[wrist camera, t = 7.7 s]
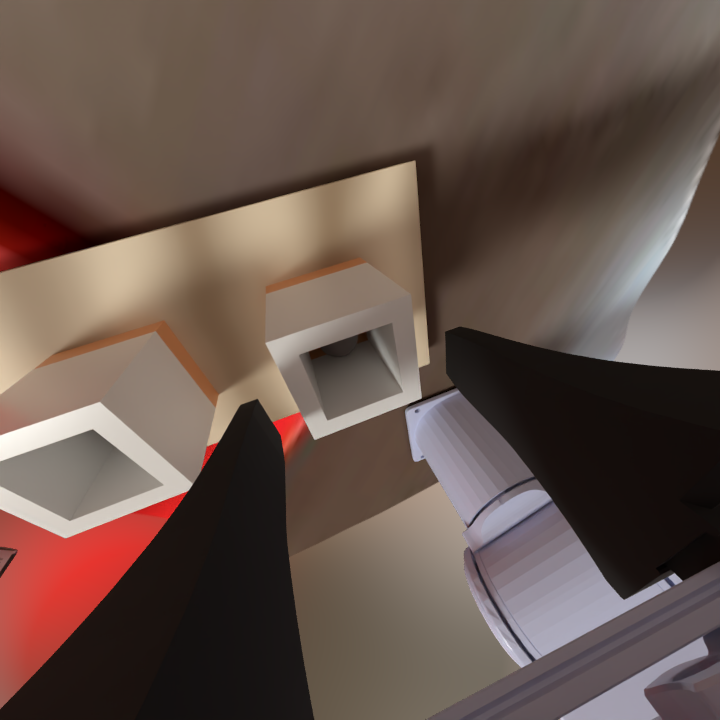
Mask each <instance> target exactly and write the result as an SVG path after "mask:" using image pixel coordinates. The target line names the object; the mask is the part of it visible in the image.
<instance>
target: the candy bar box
mask: <svg viewBox="0 0 720 720" xmlns="http://www.w3.org/2000/svg"><path fill="white" fill-rule="evenodd" d="M16 553H17V550H16V549H11V548H6V547H0V577H1V576H2V574H3V573H4V571H5V570H6V569H7V567H8V566H9V564H10V563H11V561H12V560H13V558H14V557H15V555H16Z"/></svg>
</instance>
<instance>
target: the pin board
mask: <svg viewBox="0 0 720 720" xmlns="http://www.w3.org/2000/svg"><path fill="white" fill-rule="evenodd" d="M359 257H360V258H362V259H363V260H364V261H366V262H367V263H369V264H370V265H371V266H373V267H374V268H375V269H377V270H378V271H380V272H381V273H382V274H384V275H385V276H387V277H388V278H389V279H391V280H392V281H393V282H395V283H396V284H398V285H399V286H400V287H402V288H403V289H405V290H406V291H407V292H409V293H410V294H411V299H412V309H413V319H414V328H415V338H416V348H417V358H418V368H419V367H422V366H424V365H427V364H429V349H428V335H427V320H426V306H425V291H424V277H423V262H422V248H421V234H420V219H419V205H418V190H417V176H416V161H411V162H406V163H401V164H397V165H394V166H390V167H386V168H382V169H379V170H375V171H371V172H368V173H364V174H360V175H357V176H353V177H349V178H345V179H342V180H338V181H334V182H331V183H327V184H323V185H319V186H316V187H312V188H308V189H305V190H301V191H297V192H294V193H290V194H286V195H282V196H279V197H275V198H271V199H268V200H264V201H260V202H257V203H253V204H249V205H245V206H242V207H238V208H234V209H231V210H227V211H223V212H219V213H216V214H212V215H208V216H205V217H201V218H197V219H194V220H190V221H186V222H182V223H179V224H175V225H171V226H168V227H164V228H160V229H157V230H153V231H149V232H145V233H142V234H138V235H134V236H131V237H127V238H123V239H119V240H116V241H112V242H108V243H105V244H101V245H97V246H94V247H90V248H86V249H82V250H79V251H75V252H71V253H68V254H64V255H60V256H57V257H53V258H49V259H45V260H42V261H38V262H34V263H31V264H27V265H23V266H19V267H16V268H12V269H8V270H5V271H1V272H0V395H1V394H2V393H3V392H5V391H6V390H7V389H8V388H10V387H11V386H12V385H14V384H15V383H16V382H18V381H19V380H20V379H22V378H23V377H24V376H25V375H27V374H28V373H29V372H31V371H32V370H33V369H35V368H36V367H37V366H38V365H40V364H41V363H42V362H44V361H45V360H46V359H48V358H49V357H50V356H51V355H54V354H57V353H60V352H64V351H67V350H70V349H73V348H76V347H80V346H83V345H86V344H89V343H93V342H96V341H99V340H102V339H105V338H109V337H112V336H115V335H118V334H122V333H125V332H128V331H131V330H134V329H138V328H141V327H144V326H147V325H151V324H154V323H157V322H160V321H163V320H164V321H165V322H166V323H167V325H168V326H169V327H170V329H171V330H172V332H173V333H174V334H175V336H176V337H177V338H178V340H179V341H180V342H181V344H182V345H183V346H184V348H185V349H186V351H187V352H188V353H189V355H190V356H191V357H192V359H193V360H194V361H195V363H196V364H197V365H198V367H199V368H200V369H201V371H202V372H203V374H204V375H205V376H206V378H207V379H208V380H209V382H210V383H211V384H212V386H213V387H214V388H215V390H216V391H217V393H218V394H219V396H218V400H217V405H216V409H215V413H214V417H213V422H212V426H211V430H210V435H209V439H208V443H207V446H209V445H212V444H214V443H217V442H219V441H220V439H221V438H222V436H223V434H224V432H225V431H226V429H227V427H228V425H229V424H230V422H231V420H232V418H233V416H234V415H235V413H236V411H237V409H238V408H239V406H240V405H241V404H244V403H247V402H250V401H253V400H255V399H258V400H259V402H260V403H261V405H262V406H263V408H264V410H265V411H266V413H267V415H268V416H269V418H270V419H271V421H272V422H274V421H276V420H279V419H282V418H284V417H287V416H290V415H292V414H295V413H298V412H300V410H299V408H298V406H297V404H296V402H295V400H294V398H293V396H292V395H291V393H290V391H289V389H288V387H287V385H286V383H285V381H284V379H283V377H282V375H281V373H280V371H279V369H278V367H277V365H276V363H275V361H274V359H273V357H272V355H271V353H270V351H269V349H268V347H267V346H266V344H265V316H266V286H269V285H272V284H275V283H278V282H281V281H285V280H288V279H291V278H294V277H298V276H301V275H304V274H307V273H311V272H314V271H317V270H320V269H324V268H327V267H330V266H333V265H336V264H340V263H343V262H346V261H349V260H353V259H356V258H359ZM357 341H358V334H357V335H355V336H352V337H349V338H346V339H343V340H340V341H337V342H334V343H331V344H329V345H326V346H323V347H320V348H321V349H322V351H323V352H325V353H326V354H327V355H330V356H333V357H343V356H346V355H348V354H349V353H351V352H352V351H353V349H354V348H355V346H356V344H357Z"/></svg>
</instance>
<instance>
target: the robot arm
mask: <svg viewBox="0 0 720 720" xmlns="http://www.w3.org/2000/svg"><path fill="white" fill-rule="evenodd" d="M445 338H446V373H447V375H448V376H449V378H450V379H451V381H452V382H453V383H454V385H455V386H456V387H457V388H456V389H453V390H451V391H448V392H446V393H443V394H440V395H438V396H435V397H433V398H430V399H427V400H425V401H422V402H420V403H417V404H415V405H412V406H410V407H408V408H407V409H406V410H405V414H406V421H407V427H408V433H409V439H410V445H411V452H412V458H413V459H414V461H420V460H422V459H426V460H427V462H428V464H429V465H430V467H431V469H432V470H433V472H434V474H435V475H436V477H437V479H438V481H439V482H440V484H441V485H442V487H443V489H444V490H445V492H446V494H447V496H448V497H449V499H450V501H451V502H452V504H453V506H454V508H455V509H456V511H457V513H458V514H459V516H460V518H461V519H462V521H463V523H464V525H465V526H466V528H467V530H466V531H464V532H463V533H462V535H463V537H464V539H465V540H466V542H467V544H468V546H469V547H467V548H466V550H465V551H464V570H465V575H466V579H467V582H468V585H469V587H470V590H471V592H472V594H473V597H474V599H475V601H476V603H477V605H478V607H479V609H480V611H481V613H482V615H483V617H484V619H485V621H486V622H487V624H488V626H489V627H490V629H491V630H492V632H493V634H494V635H495V637H496V638H497V640H498V641H499V643H500V644H501V645H502V647H503V648H504V650H505V651H506V652H507V653H508V655H509V656H510V657H511V658H512V659H513V660H514V661H515V662H516V663H517V664H518V665H519V666H520V667H521V669H519V670H517V671H515V672H513V673H511V674H509V675H508V676H506V677H504V678H502V679H500V680H498V681H497V682H495V683H493V684H491V685H489V686H487V687H485V688H483V689H482V690H480V691H478V692H476V693H474V694H472V695H470V696H469V697H467V698H465V699H463V700H461V701H459V702H457V703H456V704H454V705H452V706H450V707H448V708H446V709H444V710H442V711H441V712H439V713H437V714H435V715H433V716H431V717H430V718H428V719H426V720H558V719H561V720H720V371H715V370H699V369H684V368H671V367H659V366H648V365H640V364H632V363H623V362H615V361H608V360H601V359H595V358H589V357H583V356H577V355H572V354H567V353H562V352H557V351H553V350H548V349H544V348H540V347H535V346H531V345H527V344H523V343H520V342H516V341H512V340H509V339H505V338H501V337H498V336H494V335H491V334H487V333H484V332H480V331H477V330H473V329H469V328H464V327H457V328H455V329H452V330H449V331H446V332H445ZM0 720H314V717H313V711H312V706H311V700H310V694H309V689H308V683H307V678H306V672H305V666H304V660H303V654H302V649H301V642H300V635H299V629H298V623H297V616H296V609H295V602H294V595H293V587H292V579H291V571H290V563H289V554H288V546H287V533H286V494H285V461H284V453H283V447H282V441H281V435H280V434H279V432H278V431H277V429H276V427H275V426H274V424H273V423H272V421H271V419H270V418H269V416H268V415H267V413H266V411H265V410H264V408H263V406H262V405H261V403H260V402H259V400H258V399H255V400H253V401H250V402H247V403H244V404H241V405H240V406H239V408H238V409H237V411H236V413H235V415H234V416H233V418H232V420H231V422H230V424H229V425H228V427H227V429H226V431H225V432H224V434H223V436H222V438H221V439H220V441H219V443H218V445H217V446H216V448H215V450H214V451H213V453H212V455H211V457H210V458H209V460H208V461H207V463H206V464H205V466H204V468H203V469H202V471H201V472H200V474H199V475H198V477H197V478H196V480H195V482H194V483H193V485H192V486H191V488H190V489H189V491H188V492H187V494H186V495H185V497H184V498H183V500H182V501H181V503H180V504H179V505H178V507H177V508H176V510H175V511H174V512H173V514H172V515H171V516H170V518H169V519H168V520H167V522H166V523H165V524H164V526H163V527H162V528H161V530H160V531H159V532H158V534H157V535H156V536H155V538H154V539H153V540H152V541H151V543H150V544H149V545H148V546H147V547H146V549H145V550H144V551H143V552H142V554H141V555H140V556H139V557H138V558H137V560H136V561H135V562H134V563H133V564H132V566H131V567H130V568H129V569H128V571H127V572H126V573H125V574H124V575H123V577H122V578H121V579H120V580H119V582H118V583H117V584H116V585H115V586H114V588H113V589H112V590H111V591H110V592H109V593H108V595H107V596H106V597H105V598H104V599H103V600H102V601H101V602H100V603H99V605H98V606H97V607H96V608H95V609H94V610H93V612H91V614H90V615H89V616H88V617H87V618H86V619H85V621H83V623H82V624H81V625H80V626H79V627H78V628H77V629H76V630H75V631H74V632H73V633H72V635H71V636H70V637H69V638H68V639H67V640H66V641H65V642H64V643H63V644H62V645H61V646H60V648H59V649H58V650H57V651H56V652H55V653H54V654H53V655H52V656H51V657H50V658H49V659H48V660H47V662H46V663H45V664H44V665H43V666H42V667H41V668H40V669H39V670H38V671H37V672H36V673H35V674H34V675H33V676H32V677H31V678H30V679H29V680H28V681H27V682H26V683H25V684H24V685H23V686H22V687H21V689H20V690H19V691H18V692H17V693H16V694H15V695H14V696H13V697H12V698H11V699H10V700H9V701H8V702H7V703H6V704H5V705H4V706H3V707H2V708H1V709H0Z"/></svg>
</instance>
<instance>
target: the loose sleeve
mask: <svg viewBox="0 0 720 720" xmlns="http://www.w3.org/2000/svg"><path fill="white" fill-rule="evenodd" d="M357 334H358V341H357V344H356V346H355V348H354V349H353V351H352V352H351V353H349V354H348V355H346V356H343V357H333V356H330V355H327V354H326V353H325V352H323V351H322V349H321V348H320V347H323V346H326V345H329V344H331V343H334V342H337V341H340V340H343V339H346V338H349V337H352V336H355V335H357ZM265 344H266V346H267V347H268V349H269V351H270V353H271V355H272V357H273V359H274V361H275V363H276V365H277V367H278V369H279V371H280V373H281V375H282V377H283V379H284V381H285V383H286V385H287V387H288V389H289V391H290V393H291V395H292V396H293V398H294V400H295V402H296V404H297V406H298V408H299V410H300V412H301V414H302V416H303V418H304V420H305V422H306V424H307V426H308V428H309V430H310V432H311V434H312V436H313V438H314V440H316V439H318V438H321V437H323V436H326V435H329V434H331V433H334V432H336V431H339V430H342V429H344V428H347V427H349V426H352V425H354V424H357V423H360V422H362V421H365V420H367V419H370V418H373V417H375V416H378V415H380V414H383V413H385V412H388V411H391V410H393V409H396V408H398V407H401V406H404V405H406V404H409V403H411V402H414V401H416V400H419V399H422V397H421V387H420V377H419V368H418V358H417V348H416V338H415V328H414V319H413V309H412V299H411V294H410V293H409V292H407V291H406V290H405V289H403V288H402V287H400V286H399V285H398V284H396V283H395V282H393V281H392V280H391V279H389V278H388V277H387V276H385V275H384V274H382V273H381V272H380V271H378V270H377V269H375V268H374V267H373V266H371V265H370V264H369V263H367V262H366V261H364V260H363V259H362V258H360V257H359V258H356V259H353V260H349V261H346V262H343V263H340V264H336V265H333V266H330V267H327V268H324V269H320V270H317V271H314V272H311V273H307V274H304V275H301V276H298V277H294V278H291V279H288V280H285V281H281V282H278V283H275V284H272V285H269V286H266V316H265Z"/></svg>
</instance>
